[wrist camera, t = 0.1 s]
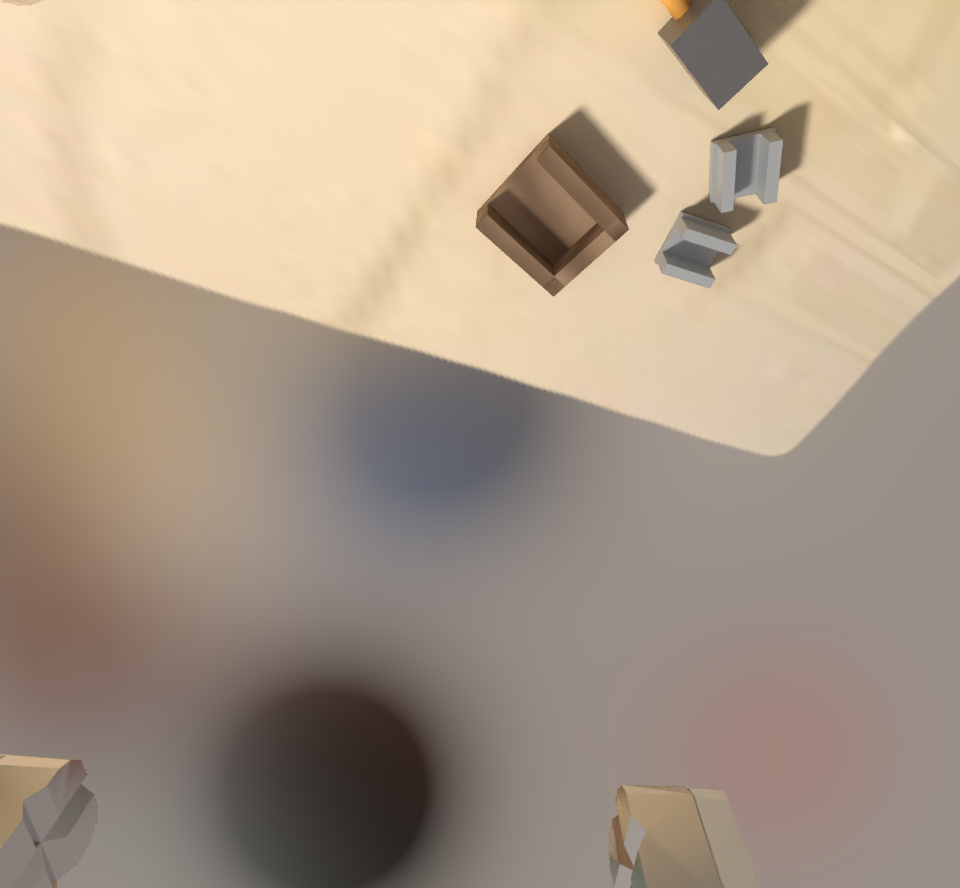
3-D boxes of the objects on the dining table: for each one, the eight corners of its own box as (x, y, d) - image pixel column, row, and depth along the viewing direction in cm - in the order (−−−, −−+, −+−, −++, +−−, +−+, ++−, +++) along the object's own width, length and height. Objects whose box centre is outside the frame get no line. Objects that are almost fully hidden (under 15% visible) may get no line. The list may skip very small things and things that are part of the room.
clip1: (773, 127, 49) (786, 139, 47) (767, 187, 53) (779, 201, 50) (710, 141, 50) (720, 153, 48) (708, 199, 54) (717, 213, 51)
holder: (548, 133, 50) (550, 147, 48) (623, 213, 55) (628, 229, 52) (477, 211, 55) (475, 227, 53) (551, 279, 59) (553, 296, 57)
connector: (669, -65, 41) (685, -60, 38) (747, 49, 46) (768, 63, 42) (624, -12, 44) (634, -2, 40) (702, 92, 48) (718, 110, 44)
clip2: (681, 211, 54) (688, 225, 52) (729, 227, 55) (738, 242, 53) (654, 259, 58) (660, 275, 55) (700, 274, 59) (708, 290, 56)
